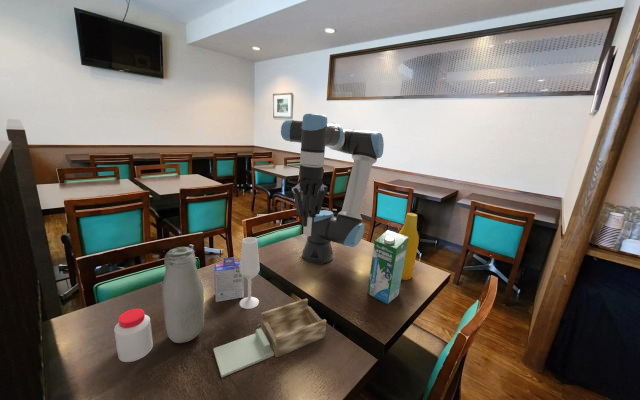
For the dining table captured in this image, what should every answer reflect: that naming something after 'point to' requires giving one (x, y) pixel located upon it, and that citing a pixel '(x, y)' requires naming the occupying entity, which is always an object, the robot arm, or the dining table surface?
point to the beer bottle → (410, 244)
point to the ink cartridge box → (228, 281)
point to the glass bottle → (182, 296)
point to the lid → (242, 353)
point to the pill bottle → (133, 335)
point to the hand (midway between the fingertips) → (306, 234)
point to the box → (292, 327)
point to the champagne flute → (249, 268)
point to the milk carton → (387, 266)
